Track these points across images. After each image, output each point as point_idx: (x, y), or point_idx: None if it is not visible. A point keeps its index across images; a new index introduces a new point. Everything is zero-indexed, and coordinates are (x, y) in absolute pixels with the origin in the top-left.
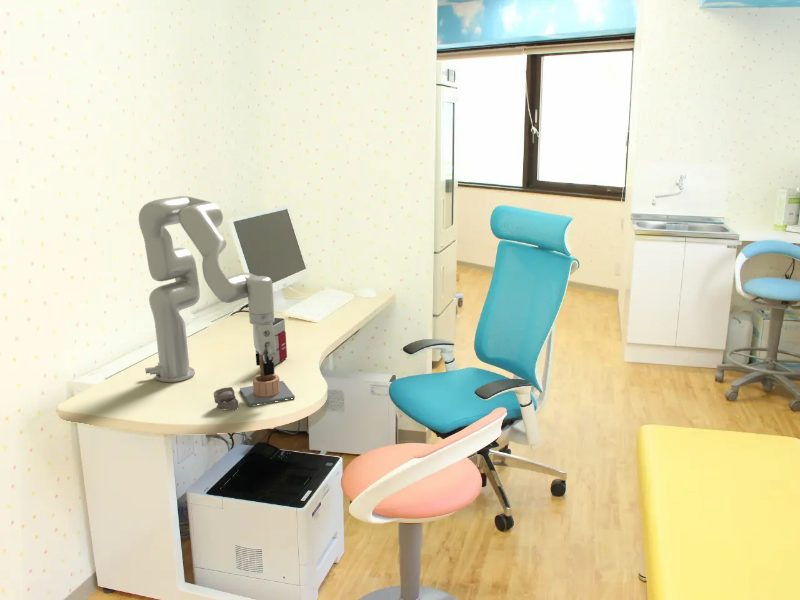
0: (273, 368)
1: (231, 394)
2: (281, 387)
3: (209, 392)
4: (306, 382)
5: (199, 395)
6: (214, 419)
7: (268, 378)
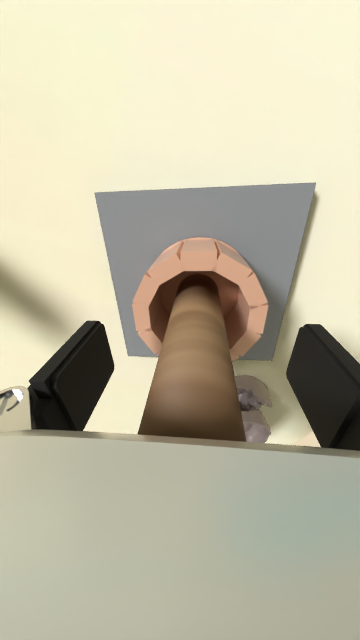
0: (343, 353)
1: (269, 430)
2: (177, 221)
3: (118, 404)
4: (110, 26)
5: (131, 421)
6: (289, 425)
7: (222, 314)
